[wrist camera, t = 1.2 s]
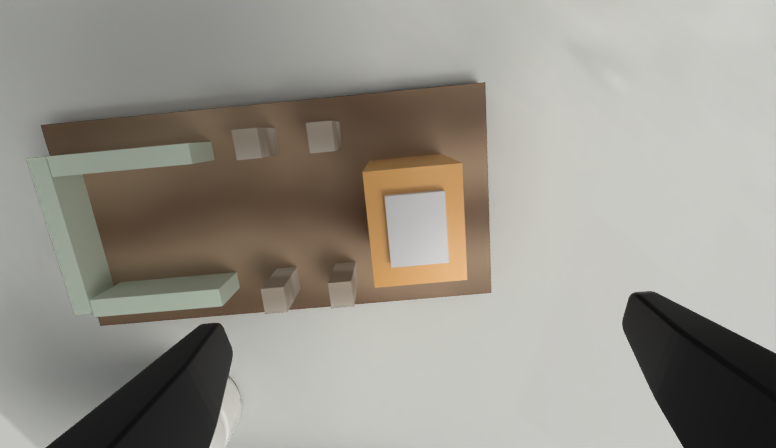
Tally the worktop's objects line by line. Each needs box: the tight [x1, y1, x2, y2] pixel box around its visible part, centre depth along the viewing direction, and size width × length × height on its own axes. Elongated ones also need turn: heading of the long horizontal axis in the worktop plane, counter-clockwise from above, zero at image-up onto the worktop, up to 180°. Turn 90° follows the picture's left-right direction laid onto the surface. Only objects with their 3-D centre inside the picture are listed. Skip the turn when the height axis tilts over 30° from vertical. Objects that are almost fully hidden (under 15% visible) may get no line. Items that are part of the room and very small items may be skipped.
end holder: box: [26, 142, 240, 317], centre depth 21 cm, size 9×8×2 cm
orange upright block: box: [362, 154, 467, 288], centre depth 19 cm, size 5×4×6 cm
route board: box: [41, 82, 491, 326], centre depth 21 cm, size 12×24×4 cm, turn 95°
